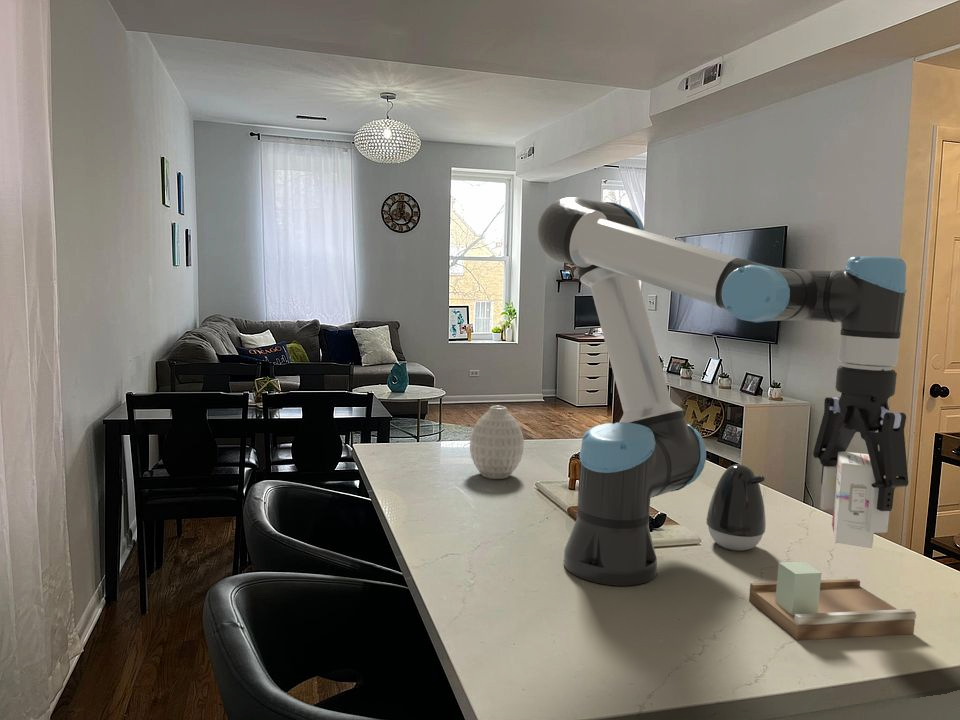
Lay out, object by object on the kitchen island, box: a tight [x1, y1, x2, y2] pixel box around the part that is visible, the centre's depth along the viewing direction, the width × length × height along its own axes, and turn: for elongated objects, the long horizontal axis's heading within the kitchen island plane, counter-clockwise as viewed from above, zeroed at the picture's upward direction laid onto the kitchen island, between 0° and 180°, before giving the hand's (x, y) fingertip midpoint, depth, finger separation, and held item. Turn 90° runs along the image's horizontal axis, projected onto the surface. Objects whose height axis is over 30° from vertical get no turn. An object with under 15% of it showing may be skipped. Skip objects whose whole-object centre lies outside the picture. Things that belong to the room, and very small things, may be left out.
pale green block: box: [775, 561, 822, 615], centre depth 103 cm, size 4×4×6 cm
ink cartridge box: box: [831, 445, 879, 549], centre depth 105 cm, size 9×5×15 cm, turn 158°
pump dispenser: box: [705, 463, 767, 552], centre depth 132 cm, size 10×10×15 cm
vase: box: [469, 405, 525, 480], centre depth 173 cm, size 13×13×17 cm
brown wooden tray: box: [748, 578, 917, 641], centre depth 105 cm, size 18×12×3 cm
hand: (852, 519), depth 106 cm, fingers closed on ink cartridge box, 9 cm apart
